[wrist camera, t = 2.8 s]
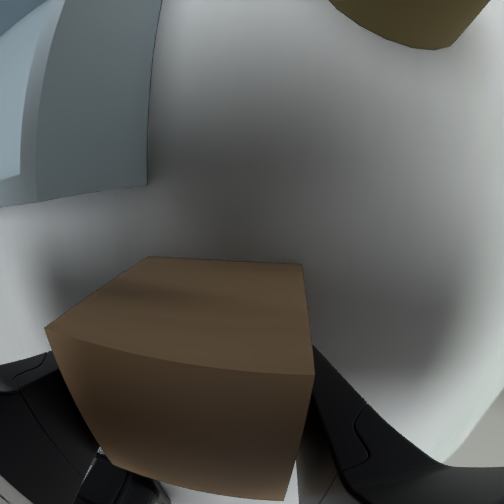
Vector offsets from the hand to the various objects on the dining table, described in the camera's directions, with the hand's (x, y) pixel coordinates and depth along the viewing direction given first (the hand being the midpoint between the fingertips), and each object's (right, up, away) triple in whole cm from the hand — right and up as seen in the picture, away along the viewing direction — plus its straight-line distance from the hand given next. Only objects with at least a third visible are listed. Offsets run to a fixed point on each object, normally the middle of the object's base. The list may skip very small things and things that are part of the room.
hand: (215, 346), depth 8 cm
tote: (-11, +11, -1) cm, 15 cm away
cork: (+6, +13, -3) cm, 14 cm away
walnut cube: (0, 0, +1) cm, 1 cm away
